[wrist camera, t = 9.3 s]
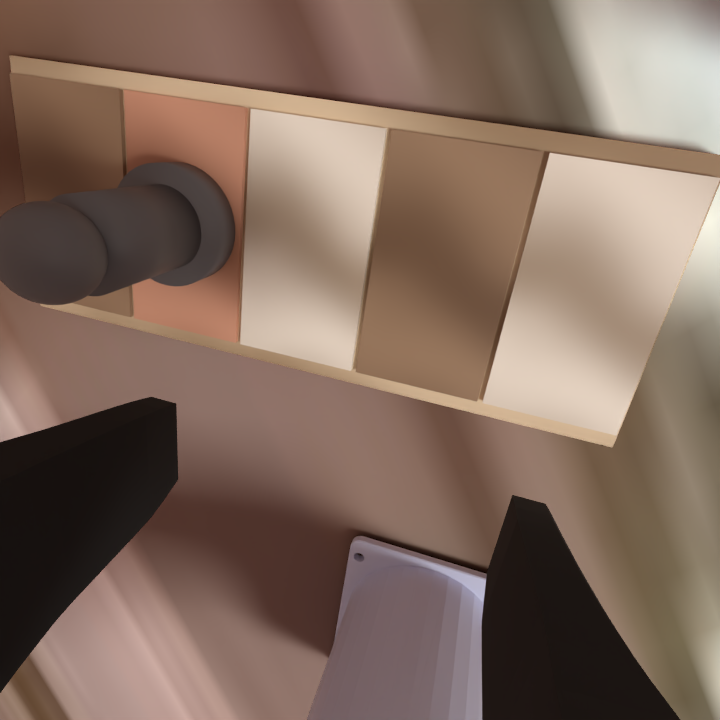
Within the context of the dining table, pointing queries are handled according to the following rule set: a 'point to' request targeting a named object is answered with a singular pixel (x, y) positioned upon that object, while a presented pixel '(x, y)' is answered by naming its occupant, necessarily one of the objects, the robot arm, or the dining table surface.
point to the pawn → (118, 236)
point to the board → (392, 239)
